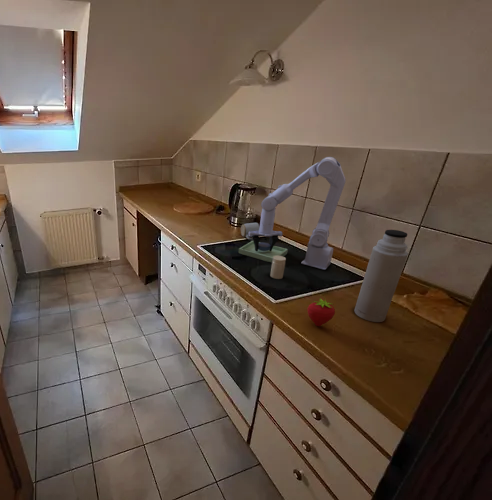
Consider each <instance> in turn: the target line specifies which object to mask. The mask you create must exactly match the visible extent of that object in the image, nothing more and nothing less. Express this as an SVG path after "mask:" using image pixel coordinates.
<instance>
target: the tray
mask: <svg viewBox="0 0 492 500" xmlns="http://www.w3.org/2000/svg"><path fill="white" fill-rule="evenodd" d="M259 243H261V241H259ZM288 251H289V249H288V248H286V247H285V248H284V247H280V246H276V245H274V246H273V248H272V251H269V250H268V251H262V250H259V249H258V251H256V250H255V245H254V241H251V240H250V242H247V243H246V244H244V245H243V246H240V247H239V248H238V254H240V255H243V256H247V257H250V258H254V259H258V260H260V261H264V262H268V263H271V264H272V260H273V256H283V257H285V256H286V255H287V254H288Z"/></svg>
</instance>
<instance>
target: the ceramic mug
mask: <svg viewBox="0 0 492 500" xmlns="http://www.w3.org/2000/svg"><path fill="white" fill-rule="evenodd" d="M259 228H260V223H258V222H250V223H249V222H248V223H243V224H241V225H240V235H241V237H243V238H246V239H247V240H248V241H250V242H251V241H253V238H252V237H249V231H258V230H259Z"/></svg>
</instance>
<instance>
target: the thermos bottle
mask: <svg viewBox="0 0 492 500" xmlns="http://www.w3.org/2000/svg"><path fill="white" fill-rule="evenodd" d="M407 237H408V233H407V232H406V231H403V230H398V229H385V231H384V234H383V237H382V238H381V239H378V240H377V242H376V245H374V246H373V247H372V250H371V253H370V257H369V260H368V264H367V267H366V270H365V273H364V277H363V280H362V283H361V287H360V290H359V294H358V297H357V300H356V303H355V307H354V313H355V315H356V316H358V317H359V318H361V319H363V320H366V321H369V322H373V323H382V322H384V321H385V320H386V318H387V315H388V313H389V310H390V306H391V303H392V300H393V298H394V295H395V292H396V289H397V287H398V284H399V280H400V278H401V275H402V272H403V270H404V267H405V264H406V261H407V259H408V256H409V252H408V251H407V250H408V244H407V243H406V238H407Z"/></svg>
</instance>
